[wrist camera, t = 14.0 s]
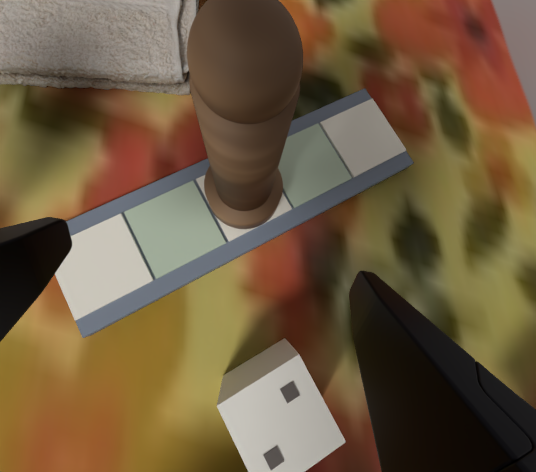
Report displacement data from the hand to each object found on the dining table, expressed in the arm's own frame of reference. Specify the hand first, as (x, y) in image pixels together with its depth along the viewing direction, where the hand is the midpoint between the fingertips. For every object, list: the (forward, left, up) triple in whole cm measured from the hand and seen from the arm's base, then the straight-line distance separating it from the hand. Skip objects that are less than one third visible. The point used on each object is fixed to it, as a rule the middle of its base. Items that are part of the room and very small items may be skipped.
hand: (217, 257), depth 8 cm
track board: (+3, +4, -10) cm, 11 cm away
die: (-1, -8, -10) cm, 13 cm away
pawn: (+3, +4, -9) cm, 10 cm away
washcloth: (-1, +22, -11) cm, 25 cm away
